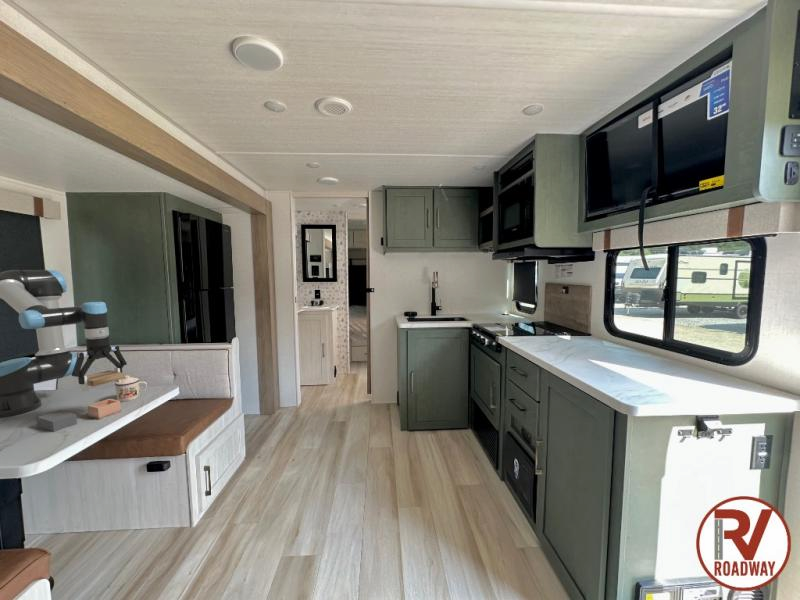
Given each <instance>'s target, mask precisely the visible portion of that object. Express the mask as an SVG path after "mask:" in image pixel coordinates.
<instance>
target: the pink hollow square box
mask: <svg viewBox="0 0 800 600" xmlns="http://www.w3.org/2000/svg"><path fill="white" fill-rule="evenodd" d="M121 404H122V403H121V402H120V401H118V400H117V399H113V398H107V399H104V400H100V401H97V402H93V403H91V404H88V405H87V414H88V418H92V417H93V419H96V420H102V419H104V417H105V418H108V417H111V416H113V415H116V414H119V413H121V412H122V407H121V406H122V405H121ZM101 418H102V419H101Z"/></svg>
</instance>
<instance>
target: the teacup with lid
mask: <svg viewBox="0 0 800 600" xmlns="http://www.w3.org/2000/svg"><path fill="white" fill-rule="evenodd" d="M140 384H143V385H144V388H142V389H140ZM114 386H115V392H116V400H118V401H120V403H121V402H130V401H133V400H134V401H135V400H137V399H138V398H139V397H140V396H141V395H140V392H143V391H145V390H147V386H148V383H147V382H146V381H140V379H139V378H137V377H133V376H132V377H131V376H130V375H128V374H126V375H124V379H121V382H116V381H115V384H114Z"/></svg>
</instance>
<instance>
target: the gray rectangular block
mask: <svg viewBox="0 0 800 600" xmlns="http://www.w3.org/2000/svg"><path fill="white" fill-rule="evenodd" d="M77 418H78V417H77V414H76V413H72V412H69V411H66V410H60V409H59V410H56V411H53V412H50V413H46V414H43V415H40V416H37V425H38V427H39V428H42V429H45V430H48V431H51V432H57V431H60V430H63V429H66V428H69V427H71V426H74V425H77V424H78V419H77Z"/></svg>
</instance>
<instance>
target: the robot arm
mask: <svg viewBox="0 0 800 600" xmlns="http://www.w3.org/2000/svg"><path fill="white" fill-rule="evenodd" d="M67 287H68V284H67V281H66V279H65V277H64V275H63V274H62V273H61V272H60V271H58V270H54V269H11V270H4V271H2V272H0V299H1V300H3V301H5V302H6V304H8V306H10V307H11V308H13V310H15V311H16V312H17V313H18V314H19V315H18V323H19V324H20V327H21V328H22V329H25V330H34V329H35V331H36V339H37V344H38V351H37V352H36V353H35V354H34V358H33V359H32V358H31V357H25V356H24V357H18V358H14V359H13V358H12V359H9V360H5V361H1V362H0V418H5V417H6V418H7V417H11V416H15V415H21V414H24V413H27V412H28V413H29V412H31V411H34V410H36V409H38V408H41V406H43V405H42V403H43V402H42V399H41V398H40V396H39V394H37V393H36V391H35V387H34V386H35V384H39V383H45V382H49V381H52V380H57V379H63V378H65V377H69V376H71V377H76V378H77V380H78V379H79V381H78V384H79V385H81V387H82V388H81V389H82V391H83V392H89V386H88V383H87V376H88V375H86V373H87V372H88V370H89V369H90V367H91V366H92V364H93V363H94V362H95V361H96V360H99V359H105V358H106V359H107V360H108V361H109V362H110V363H111V364H113V366H115V367H114V370H113V371H115V372H121V373H123V368H124V366H126V365H128V364H127V361H126V359H125V358H124V356H123V354H122V353H121V351H120V346H119V345H113V346H111V341H110V339H111V338H110V337H109V335H110V331H109V322H108V321H109V320H108V308H107V304H106V303H105V302H104V301H90V302H83V303H82V305H75V306H69V307H67V306H66V307H60V305H59V300H60V299H61V298H62V297H63V294H64V293H66V291H67ZM78 324H83V328H84V337H85V346H86V351H82V352H80V351H79V352H77V353H76V354H75V353H74V352H71V351H70V349H69V348H67V347H66V345H65V339H64V334H63V326H68V325H78ZM111 351H112V352H113V354H114V356H115V357H116V358H114V356H113V355H112V354H111V353H110V352H111ZM86 355H87V356H88V357H87V358H86V361H85V360H84V359H85V357H86ZM84 361H85V362H84ZM83 363H84V364H83ZM116 382H121V379H120V380H116V381H115V383H116Z"/></svg>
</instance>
